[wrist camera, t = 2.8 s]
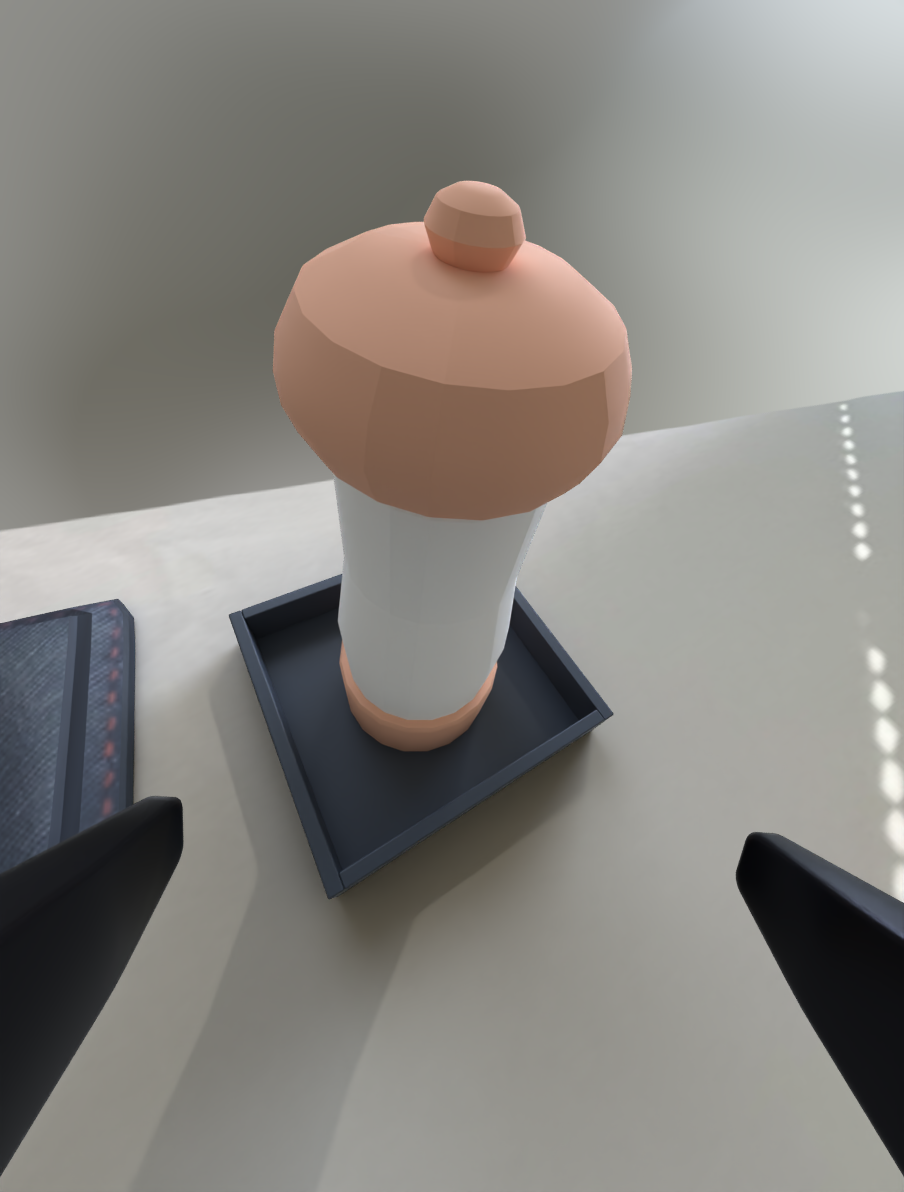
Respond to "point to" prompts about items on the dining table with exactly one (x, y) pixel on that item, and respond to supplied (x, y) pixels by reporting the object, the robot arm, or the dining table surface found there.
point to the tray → (384, 774)
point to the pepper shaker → (444, 439)
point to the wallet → (64, 725)
